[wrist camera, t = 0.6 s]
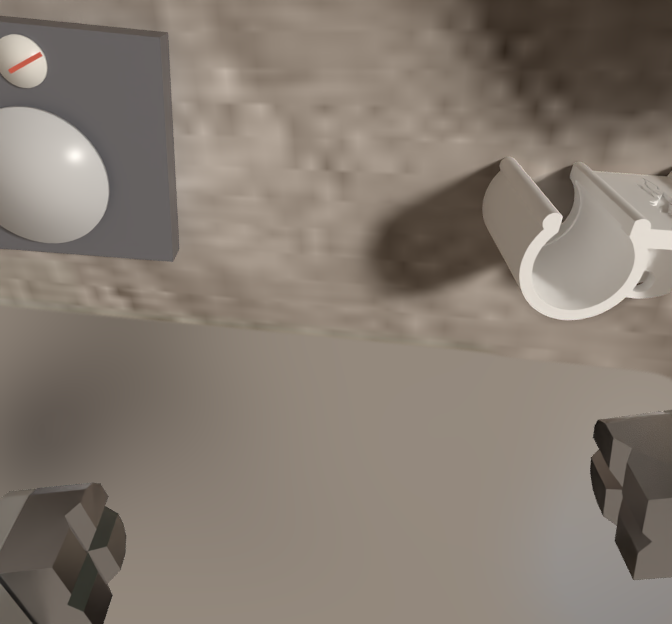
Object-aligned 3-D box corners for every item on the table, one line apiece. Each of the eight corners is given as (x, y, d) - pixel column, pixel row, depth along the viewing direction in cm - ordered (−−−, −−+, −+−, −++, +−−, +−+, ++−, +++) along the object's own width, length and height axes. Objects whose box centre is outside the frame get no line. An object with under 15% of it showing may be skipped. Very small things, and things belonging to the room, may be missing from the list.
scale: (-112, 4, 43) (-146, 10, 40) (168, 32, 44) (155, 40, 41) (-49, 230, 53) (-73, 249, 50) (179, 248, 54) (170, 268, 51)
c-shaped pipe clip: (471, 251, 55) (504, 324, 45) (494, 146, 50) (538, 202, 39) (733, 268, 56) (823, 343, 46) (783, 167, 51) (897, 227, 41)
